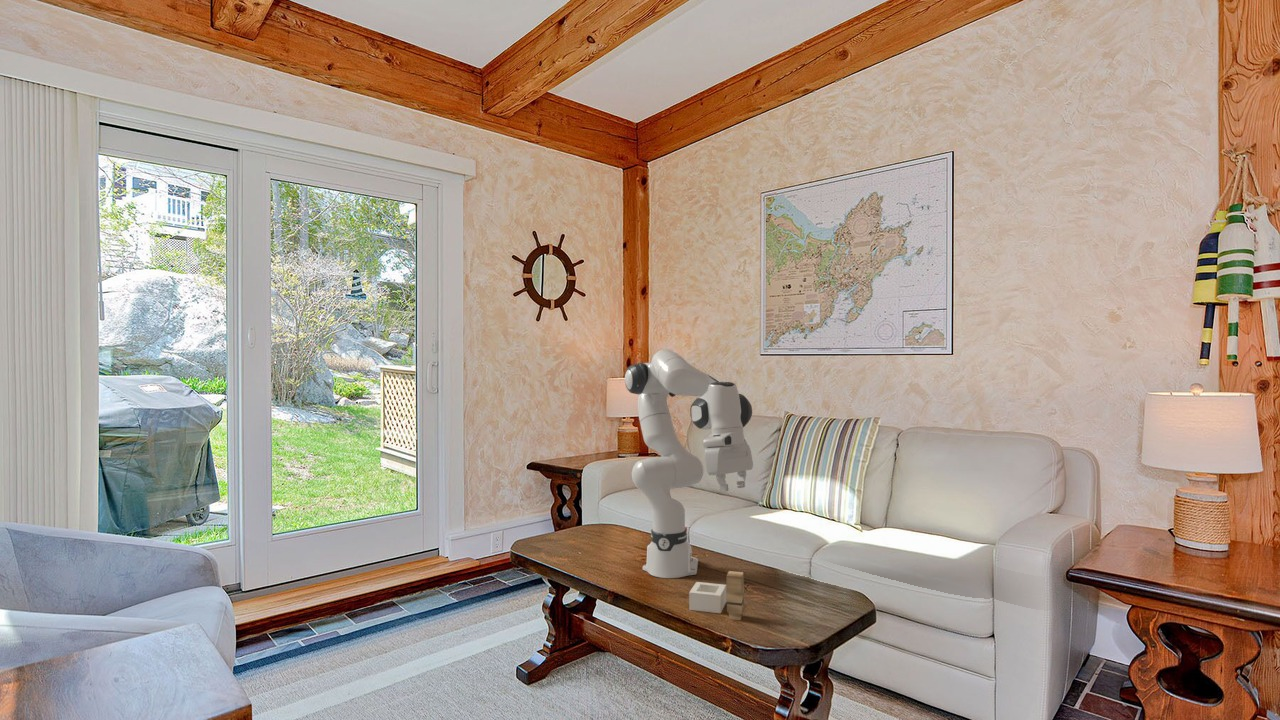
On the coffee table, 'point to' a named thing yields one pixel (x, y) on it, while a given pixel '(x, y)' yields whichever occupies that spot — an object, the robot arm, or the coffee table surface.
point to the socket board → (707, 597)
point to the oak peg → (735, 595)
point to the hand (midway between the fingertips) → (733, 489)
